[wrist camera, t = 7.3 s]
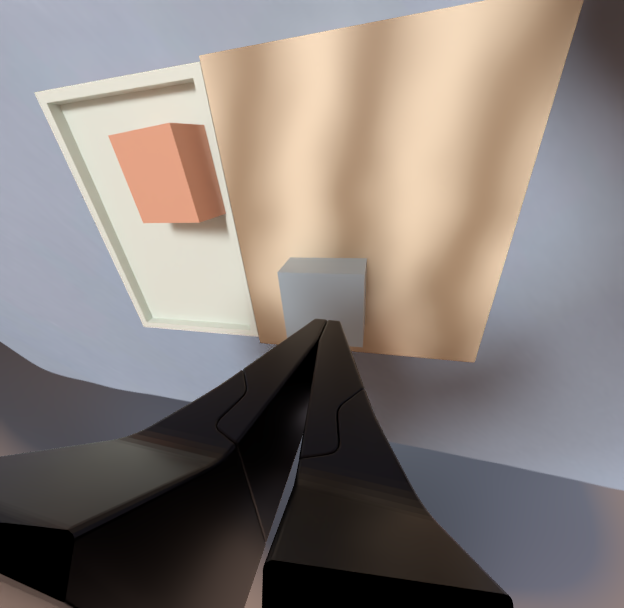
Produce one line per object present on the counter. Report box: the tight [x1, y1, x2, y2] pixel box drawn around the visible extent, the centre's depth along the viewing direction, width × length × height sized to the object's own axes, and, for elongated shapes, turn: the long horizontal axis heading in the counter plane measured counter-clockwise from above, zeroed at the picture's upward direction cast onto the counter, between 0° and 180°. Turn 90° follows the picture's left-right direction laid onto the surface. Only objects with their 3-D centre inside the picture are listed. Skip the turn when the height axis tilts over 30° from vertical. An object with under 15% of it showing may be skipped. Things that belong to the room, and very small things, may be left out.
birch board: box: [199, 0, 584, 362], centre depth 17 cm, size 16×18×2 cm
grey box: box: [277, 257, 367, 347], centre depth 17 cm, size 5×5×2 cm
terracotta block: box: [108, 123, 226, 223], centre depth 17 cm, size 5×5×2 cm
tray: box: [34, 62, 259, 337], centre depth 20 cm, size 12×18×1 cm, turn 5°
